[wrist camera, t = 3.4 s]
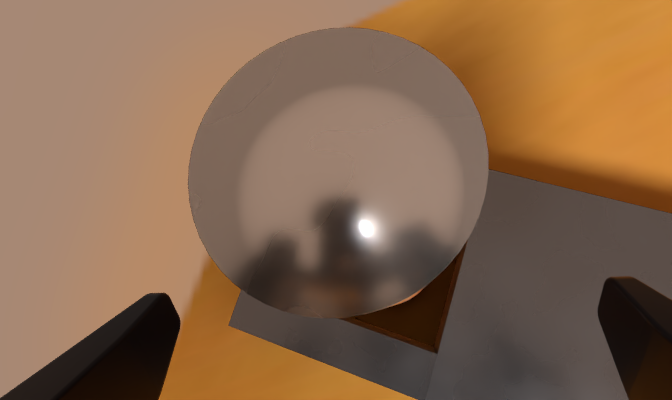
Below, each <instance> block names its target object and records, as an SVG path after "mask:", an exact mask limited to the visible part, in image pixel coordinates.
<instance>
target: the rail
mask: <svg viewBox="0 0 672 400" xmlns="http://www.w3.org/2000/svg"><path fill="white" fill-rule="evenodd" d="M620 276H630V277H634V278H636V279H638V280H640V281H641V282H643V283H645V284H646V285H648V286H650V287H651V288H653V289H655V290H656V291H658V292H660V293H661V294H663V295H665V296H666V297H668V298H670V299H671V300H672V214H671V213H667V212H663V211H659V210H655V209H651V208H647V207H642V206H638V205H634V204H630V203H626V202H622V201H618V200H614V199H609V198H605V197H601V196H597V195H593V194H589V193H585V192H581V191H576V190H572V189H568V188H564V187H560V186H556V185H552V184H548V183H543V182H539V181H535V180H531V179H527V178H523V177H519V176H515V175H510V174H506V173H502V172H498V171H494V170H490V169H489V174H488V181H487V188H486V195H485V198H484V202H483V205H482V208H481V212H480V215H479V217H478V219H477V222H476V224H475V226H474V228H473V231H472V233H471V235H470V236H469V238H468V239H467V241H466V243H465V244H464V246H463V247H462V249H461V250H460V252H459V254H458V258H457V261H456V265H455V269H454V272H453V276H452V280H451V284H450V287H449V291H448V295H447V298H446V302H445V306H444V310H443V313H442V317H441V321H440V324H439V328H438V332H437V336H436V339H435V343H434V347H433V346H430V345H427V344H425V343H422V342H419V341H416V340H413V339H411V338H408V337H405V336H402V335H399V334H397V333H394V332H391V331H388V330H385V329H383V328H380V327H377V326H374V325H371V324H368V323H366V322H363V321H360V320H357V319H354V318H352V317H347V318H326V319H325V318H315V317H304V316H300V315H296V314H292V313H288V312H284V311H281V310H279V309H276V308H274V307H271V306H268V305H266V304H264V303H262V302H260V301H259V300H257V299H255V298H253V297H252V296H250V295H248V294H247V293H246V292H244V291H243V290H242V289H241V292H240V295H239V297H238V300H237V303H236V306H235V309H234V311H233V314H232V317H231V320H230V322H229V325H228V326H231V327H234V328H236V329H239V330H241V331H244V332H246V333H249V334H251V335H254V336H257V337H259V338H262V339H264V340H267V341H269V342H272V343H274V344H277V345H280V346H282V347H285V348H287V349H290V350H292V351H295V352H297V353H300V354H303V355H305V356H308V357H310V358H313V359H315V360H318V361H321V362H323V363H326V364H328V365H331V366H333V367H336V368H338V369H341V370H344V371H346V372H349V373H351V374H354V375H356V376H359V377H361V378H364V379H367V380H369V381H372V382H374V383H377V384H379V385H382V386H384V387H387V388H390V389H392V390H395V391H397V392H400V393H402V394H405V395H407V396H410V397H413V398H415V399H418V400H629V399H628V396H627V394H626V392H625V389H624V387H623V384H622V381H621V379H620V376H619V373H618V370H617V368H616V365H615V362H614V360H613V357H612V354H611V352H610V349H609V346H608V343H607V341H606V338H605V335H604V333H603V330H602V327H601V325H600V322H599V319H598V312H597V310H598V304H599V300H600V296H601V293H602V289H603V285H604V282H605V280H606V279H607V278H609V277H620Z"/></svg>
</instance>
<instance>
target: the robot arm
mask: <svg viewBox="0 0 672 400" xmlns="http://www.w3.org/2000/svg"><path fill="white" fill-rule="evenodd" d="M597 312H598V319H599V322H600V325H601V327H602V330H603V333H604V335H605V338H606V341H607V343H608V346H609V349H610V352H611V354H612V357H613V360H614V362H615V365H616V368H617V370H618V373H619V376H620V379H621V381H622V384H623V387H624V389H625V392H626V394H627V396H628V399H629V400H672V300H671V299H670V298H668V297H666V296H665V295H663V294H661V293H660V292H658V291H656V290H655V289H653V288H651V287H650V286H648V285H646V284H645V283H643V282H641V281H640V280H638V279H636V278H634V277H630V276H620V277H609V278H607V279H606V280H605V282H604V285H603V289H602V293H601V296H600V300H599V304H598V310H597ZM179 330H180V318H179V315H178V313H177V311H176V310H175V307H174V305H173V303H172V301H171V299H170V297H169V296H168V295H167V294H166V293H150V294H147V295H145V296H143V297H142V298H141V299H139V300H138V301H137V302H135V303H134V304H132V305H131V306H129V307H128V308H127V309H125V310H124V311H122V312H121V313H120V314H118V315H117V316H115V317H114V318H113V319H111V320H110V321H108V322H107V323H105V324H104V325H103V326H101V327H100V328H98V329H97V330H96V331H94V332H93V333H91V334H90V335H89V336H87V337H86V338H84V339H83V340H81V341H80V342H79V343H77V344H76V345H74V346H73V347H72V348H70V349H69V350H68V351H66V352H65V353H63V354H62V355H60V356H59V357H58V358H56V359H55V360H53V361H52V362H50V363H49V364H48V365H46V366H45V367H44V368H42V369H41V370H39V371H38V372H36V373H35V374H34V375H32V376H31V377H29V378H28V379H27V380H25V381H24V382H22V383H21V384H20V385H18V386H17V387H16V388H14V389H12V390H11V391H10V392H8V393H7V394H6V395H4V396H3V397H1V398H0V400H158V399H159V396H160V394H161V391H162V388H163V385H164V381H165V378H166V375H167V371H168V368H169V364H170V361H171V357H172V354H173V351H174V347H175V344H176V340H177V337H178V334H179Z"/></svg>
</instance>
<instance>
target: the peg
mask: <svg viewBox="0 0 672 400" xmlns="http://www.w3.org/2000/svg"><path fill="white" fill-rule="evenodd" d="M488 174H489V169H488V147H487V141H486V134H485V131H484V127H483V124H482V121H481V118H480V114H479V112H478V110H477V108H476V106H475V104H474V102H473V100H472V98H471V96H470V94H469V93H468V91H467V90H466V88H465V87H464V85H463V84H462V82H461V81H460V80H459V79H458V78H457V77H456V75H455V74H454V73H453V72H452V71H451V70H450V69H449V68H448V67H447V66H446V65H445V64H444V63H443V62H441V61H440V60H439V59H438V58H437V57H436V56H434V55H433V54H431V53H430V52H428V51H427V50H425V49H423V48H422V47H420V46H419V45H417V44H415V43H412V42H410V41H408V40H406V39H404V38H401V37H398V36H395V35H392V34H389V33H386V32H382V31H376V30H371V29H364V28H350V27H349V28H330V29H324V30H318V31H313V32H309V33H305V34H302V35H298V36H295V37H293V38H290V39H288V40H286V41H283V42H280V43H278V44H276V45H275V46H273V47H271V48H269V49H267V50H265V51H264V52H262V53H261V54H259V55H258V56H256V57H255V58H253V59H252V60H250V61H249V62H248V63H247V64H246V65H244V66H243V67H242V68H241V69H240V70H239V71H237V72H236V73H235V74H234V76H233V77H231V79H230V80H229V81H228V82H227V83H226V84H225V85H224V86H223V88H222V89H221V90H220V92H219V93H218V94H217V96H216V97H215V98H214V100H213V101H212V103H211V105H210V106H209V108H208V110H207V112H206V113H205V115H204V117H203V119H202V122H201V124H200V126H199V129H198V131H197V134H196V137H195V140H194V144H193V147H192V151H191V158H190V163H189V176H188V189H189V201H190V207H191V211H192V216H193V220H194V223H195V226H196V228H197V231H198V234H199V237H200V239H201V241H202V242H203V244H204V246H205V248H206V250H207V252H208V254H209V255H210V256H211V258H212V259H213V261H214V262H215V263H216V265H217V266H218V268H219V269H220V270H221V271H222V272H223V273H224V274H225V275H226V276H227V277H228V278H229V279H230V280H231V281H232V282H233V283H234V284H235V285H237V286H238V287H239V288H240V289H242V290H243V291H244V292H246V293H247V294H248V295H250V296H252V297H253V298H255V299H257V300H259V301H260V302H262V303H264V304H266V305H268V306H271V307H274V308H276V309H279V310H281V311H284V312H288V313H292V314H296V315H300V316H304V317H315V318H325V319H326V318H347V317H353V316H358V315H364V314H369V313H372V312H375V311H378V310H381V309H384V308H388V307H391V306H394V305H397V304H400V303H403V302H406V301H408V300H410V299H411V298H413V297H414V296H415V295H417V294H418V293H419V292H420V291H421V290H422V289H423V288H425V287H426V286H427V285H428V284H429V283H430V282H431V281H432V280H434V279H435V278H436V277H437V276H438V275H439V274H440V273H441V272H443V271H444V270H445V269H446V268H447V266H448V265H449V264H450V263H451V262H452V260H453V259H454V258H455V257H456V256H457V255H458V253H459V252H460V250H461V249H462V247H463V246H464V244H465V243H466V241H467V239H468V238H469V236H470V235H471V233H472V231H473V228H474V226H475V224H476V222H477V219H478V217H479V215H480V212H481V208H482V205H483V202H484V198H485V195H486V188H487V181H488Z"/></svg>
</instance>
